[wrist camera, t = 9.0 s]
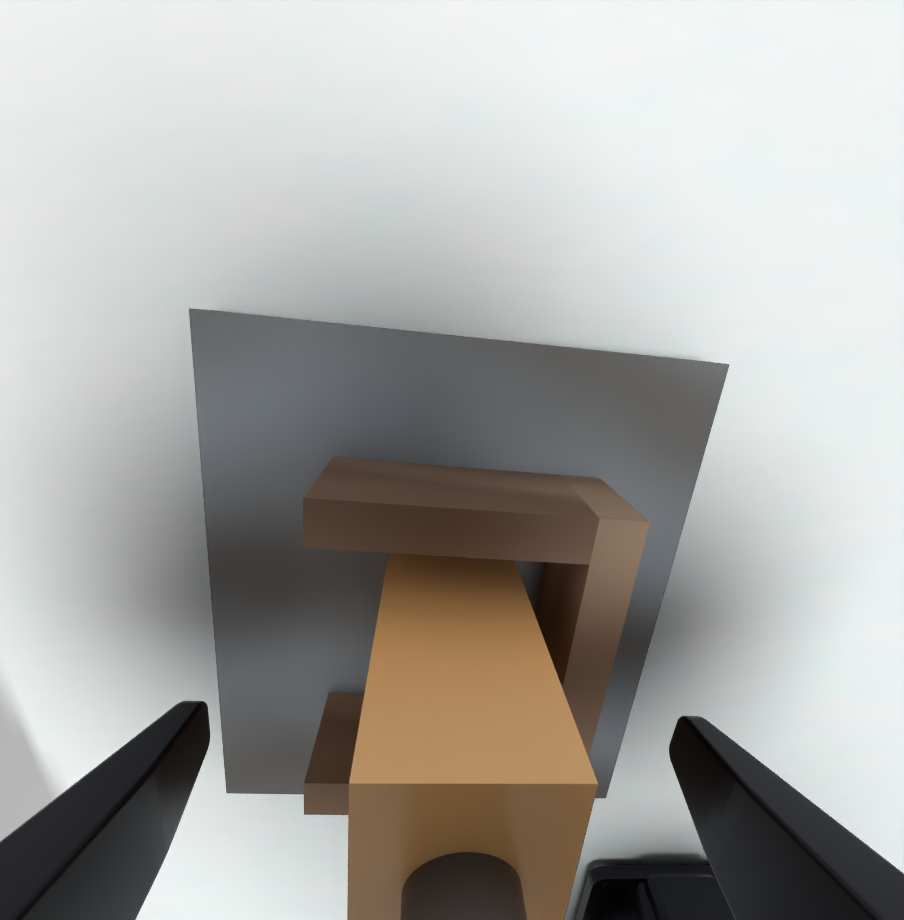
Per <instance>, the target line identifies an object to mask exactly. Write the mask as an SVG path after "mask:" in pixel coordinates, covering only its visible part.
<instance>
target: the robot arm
mask: <svg viewBox="0 0 904 920" xmlns="http://www.w3.org/2000/svg"><path fill="white" fill-rule="evenodd" d="M209 742H210V727H209V716H208V707H207V704H206V703H205V702H203V701H182V702H180V703H178V704H177V705H175V706H174V707H173V708H172V709H170V710H169V711H168V712H166V713H165V714H164V715H163V716H161V717H160V718H159V719H157V720H156V721H155V722H154V723H152V724H151V725H150V726H148V727H147V728H146V729H145V730H143V731H142V732H141V733H139V734H138V735H137V736H136V737H134V738H133V739H132V740H130V741H129V742H128V743H126V744H125V745H124V746H123V747H121V748H120V749H119V750H117V751H116V752H115V753H114V754H112V755H111V756H110V757H108V758H107V759H106V760H105V761H103V762H102V763H101V764H99V765H98V766H97V767H96V768H94V769H93V770H92V771H90V772H89V773H88V774H87V775H85V776H84V777H83V778H81V779H80V780H79V781H78V782H76V783H75V784H74V785H72V786H71V787H70V788H69V789H67V790H66V791H65V792H63V793H62V794H61V795H60V796H58V797H57V798H56V799H54V800H53V801H52V802H51V803H49V804H48V805H47V806H45V807H44V808H43V809H42V810H41V811H39V812H38V813H36V814H35V815H34V816H32V817H31V818H30V819H29V820H27V821H26V822H25V823H23V824H22V825H21V826H20V827H18V828H17V829H16V830H15V831H13V832H12V833H11V834H10V835H8V836H7V837H5V838H4V839H3V840H2V841H1V842H0V920H135V919H136V917H137V915H138V913H139V911H140V909H141V907H142V905H143V903H144V901H145V899H146V897H147V895H148V893H149V891H150V889H151V887H152V884H153V882H154V880H155V878H156V876H157V874H158V872H159V870H160V868H161V866H162V863H163V861H164V859H165V857H166V855H167V852H168V850H169V847H170V845H171V843H172V840H173V838H174V835H175V833H176V830H177V827H178V825H179V822H180V820H181V817H182V814H183V812H184V809H185V807H186V804H187V802H188V799H189V796H190V794H191V791H192V789H193V786H194V783H195V781H196V778H197V776H198V773H199V770H200V768H201V765H202V763H203V760H204V758H205V755H206V752H207V750H208V746H209ZM669 754H670V759H671V762H672V765H673V768H674V771H675V773H676V776H677V779H678V781H679V784H680V787H681V790H682V792H683V795H684V798H685V800H686V803H687V806H688V809H689V811H690V814H691V817H692V819H693V822H694V825H695V828H696V830H697V833H698V836H699V838H700V841H701V844H702V846H703V849H704V851H705V854H706V856H707V858H708V861H709V863H710V865H711V866H598V867H596V868H593V869H592V870H591V871H590V872H589V874H588V876H587V880H586V883H585V887H584V890H583V894H582V897H581V900H580V904H579V907H578V911H577V914H576V918H575V920H904V873H902V872H901V871H900V870H898V869H897V868H896V867H895V866H893V865H892V864H891V863H889V862H888V861H887V860H886V859H884V858H883V857H882V856H880V855H879V854H878V853H877V852H875V851H874V850H873V849H871V848H870V847H869V846H868V845H866V844H865V843H864V842H862V841H861V840H860V839H859V838H857V837H856V836H855V835H853V834H852V833H851V832H850V831H848V830H847V829H846V828H844V827H843V826H842V825H841V824H839V823H838V822H837V821H835V820H834V819H833V818H832V817H830V816H829V815H828V814H827V813H825V812H824V811H823V810H821V809H820V808H819V807H818V806H816V805H815V804H814V803H812V802H811V801H810V800H809V799H807V798H806V797H805V796H803V795H802V794H801V793H800V792H798V791H797V790H796V789H794V788H793V787H792V786H791V785H789V784H788V783H787V782H785V781H784V780H783V779H782V778H780V777H779V776H778V775H776V774H775V773H774V772H773V771H771V770H770V769H769V768H767V767H766V766H765V765H764V764H762V763H761V762H760V761H758V760H757V759H756V758H755V757H753V756H752V755H751V754H750V753H748V752H747V751H746V750H744V749H743V748H742V747H741V746H739V745H738V744H737V743H735V742H734V741H733V740H732V739H730V738H729V737H728V736H726V735H725V734H724V733H723V732H721V731H720V730H719V729H717V728H716V727H715V726H714V725H712V724H711V723H710V722H708V721H707V720H706V719H704V718H702V717H699V716H681V717H680V718H679V719H678V721H677V724H676V727H675V730H674V733H673V736H672V739H671V742H670V746H669Z"/></svg>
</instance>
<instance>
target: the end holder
mask: <svg viewBox="0 0 904 920" xmlns="http://www.w3.org/2000/svg"><path fill="white" fill-rule="evenodd" d="M189 315H190V328H191V341H192V353H193V366H194V379H195V392H196V405H197V418H198V431H199V444H200V457H201V470H202V483H203V495H204V508H205V521H206V534H207V547H208V560H209V573H210V586H211V599H212V612H213V625H214V637H215V650H216V663H217V676H218V689H219V702H220V715H221V728H222V741H223V754H224V767H225V779H226V792H227V793H250V794H304V814H307V815H349V781H350V775H351V769H352V763H353V757H354V751H355V746H356V740H357V734H358V728H359V722H360V717H361V711H362V705H363V699H364V693H365V688H366V682H367V676H368V670H369V664H370V659H371V653H372V647H373V641H374V635H375V630H376V624H377V618H378V612H379V606H380V600H381V595H382V589H383V583H384V577H385V571H386V566H387V560H388V554H389V553H401V554H417V555H434V556H451V557H467V558H484V559H501V560H514V561H515V563H516V566H517V569H518V571H519V574H520V577H521V579H522V582H523V585H524V587H525V590H526V593H527V595H528V598H529V601H530V603H531V606H532V609H533V611H534V614H535V617H536V619H537V622H538V625H539V627H540V630H541V633H542V635H543V638H544V641H545V643H546V646H547V649H548V651H549V654H550V657H551V659H552V662H553V665H554V667H555V670H556V673H557V675H558V678H559V681H560V683H561V686H562V689H563V691H564V694H565V697H566V699H567V702H568V705H569V707H570V710H571V713H572V715H573V718H574V721H575V723H576V726H577V729H578V731H579V734H580V737H581V739H582V742H583V745H584V747H585V750H586V753H587V755H588V758H589V761H590V763H591V766H592V769H593V771H594V774H595V777H596V779H597V782H598V786H597V790H596V794H595V798H606V795H607V792H608V788H609V785H610V781H611V778H612V774H613V771H614V767H615V764H616V760H617V757H618V753H619V750H620V746H621V743H622V739H623V736H624V732H625V729H626V725H627V722H628V718H629V715H630V711H631V708H632V704H633V701H634V697H635V694H636V690H637V687H638V683H639V680H640V676H641V673H642V669H643V666H644V662H645V659H646V655H647V652H648V648H649V645H650V641H651V638H652V634H653V631H654V627H655V624H656V620H657V617H658V613H659V610H660V606H661V602H662V599H663V595H664V592H665V588H666V585H667V581H668V578H669V574H670V571H671V567H672V564H673V560H674V557H675V553H676V550H677V546H678V543H679V539H680V536H681V532H682V529H683V525H684V522H685V518H686V515H687V511H688V508H689V504H690V501H691V497H692V494H693V490H694V487H695V483H696V480H697V476H698V473H699V469H700V466H701V462H702V459H703V455H704V452H705V448H706V445H707V441H708V438H709V434H710V431H711V427H712V424H713V420H714V417H715V413H716V410H717V406H718V403H719V399H720V396H721V392H722V389H723V385H724V382H725V378H726V375H727V371H728V368H729V364H721V363H713V362H705V361H695V360H686V359H676V358H666V357H657V356H647V355H637V354H628V353H618V352H609V351H599V350H589V349H580V348H570V347H560V346H551V345H541V344H531V343H522V342H512V341H502V340H493V339H483V338H473V337H464V336H454V335H444V334H435V333H425V332H415V331H406V330H396V329H386V328H377V327H367V326H357V325H348V324H338V323H328V322H319V321H309V320H300V319H290V318H280V317H271V316H261V315H251V314H242V313H232V312H222V311H213V310H201V309H189Z"/></svg>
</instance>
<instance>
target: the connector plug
mask: <svg viewBox="0 0 904 920" xmlns="http://www.w3.org/2000/svg"><path fill="white" fill-rule="evenodd" d="M597 786H598V782H597V779H596V777H595V774H594V771H593V769H592V766H591V763H590V761H589V758H588V755H587V753H586V750H585V747H584V745H583V742H582V739H581V737H580V734H579V731H578V729H577V726H576V723H575V721H574V718H573V715H572V713H571V710H570V707H569V705H568V702H567V699H566V697H565V694H564V691H563V689H562V686H561V683H560V681H559V678H558V675H557V673H556V670H555V667H554V665H553V662H552V659H551V657H550V654H549V651H548V649H547V646H546V643H545V641H544V638H543V635H542V633H541V630H540V627H539V625H538V622H537V619H536V617H535V614H534V611H533V609H532V606H531V603H530V601H529V598H528V595H527V593H526V590H525V587H524V585H523V582H522V579H521V577H520V574H519V571H518V569H517V566H516V563H515V561H514V560H501V559H484V558H467V557H451V556H434V555H417V554H401V553H389V554H388V560H387V566H386V571H385V577H384V583H383V589H382V595H381V600H380V606H379V612H378V618H377V624H376V630H375V635H374V641H373V647H372V653H371V659H370V664H369V670H368V676H367V682H366V688H365V693H364V699H363V705H362V711H361V717H360V722H359V728H358V734H357V740H356V746H355V751H354V757H353V763H352V769H351V775H350V781H349V827H348V916H347V920H564V919H565V915H566V911H567V907H568V903H569V899H570V895H571V891H572V887H573V883H574V879H575V875H576V871H577V867H578V863H579V859H580V855H581V851H582V847H583V843H584V839H585V835H586V831H587V827H588V823H589V819H590V815H591V811H592V806H593V802H594V798H595V794H596V790H597Z"/></svg>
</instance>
